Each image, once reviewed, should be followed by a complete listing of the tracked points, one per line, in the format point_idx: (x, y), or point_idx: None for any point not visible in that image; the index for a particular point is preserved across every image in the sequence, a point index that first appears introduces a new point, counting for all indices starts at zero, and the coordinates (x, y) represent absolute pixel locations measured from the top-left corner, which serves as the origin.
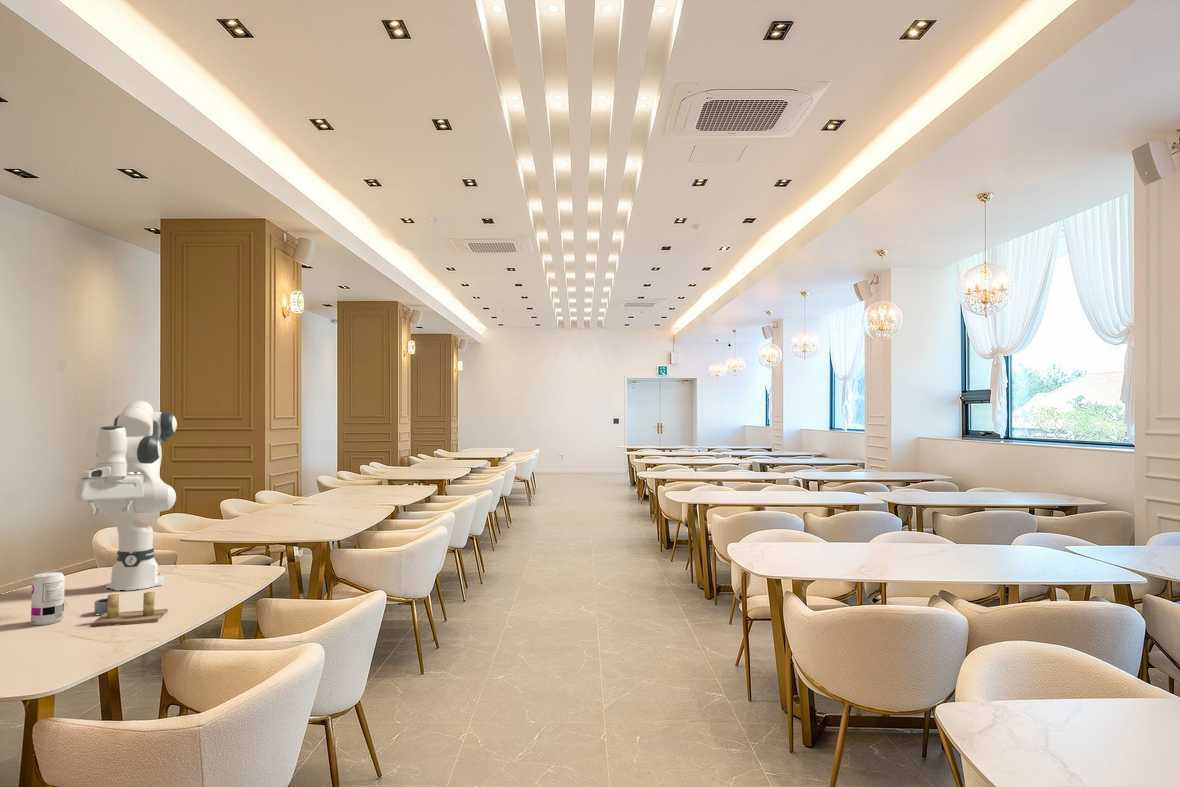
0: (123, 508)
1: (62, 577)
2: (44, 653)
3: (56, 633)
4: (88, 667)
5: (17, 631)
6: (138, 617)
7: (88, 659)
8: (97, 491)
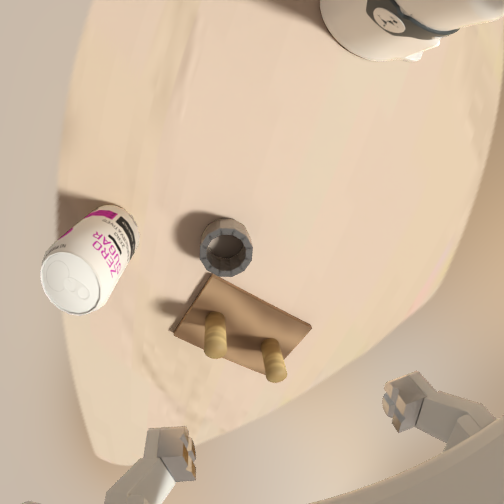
0: (399, 411)
1: (104, 302)
2: (110, 402)
3: (121, 329)
4: None
5: None
6: (249, 351)
7: None
8: None
